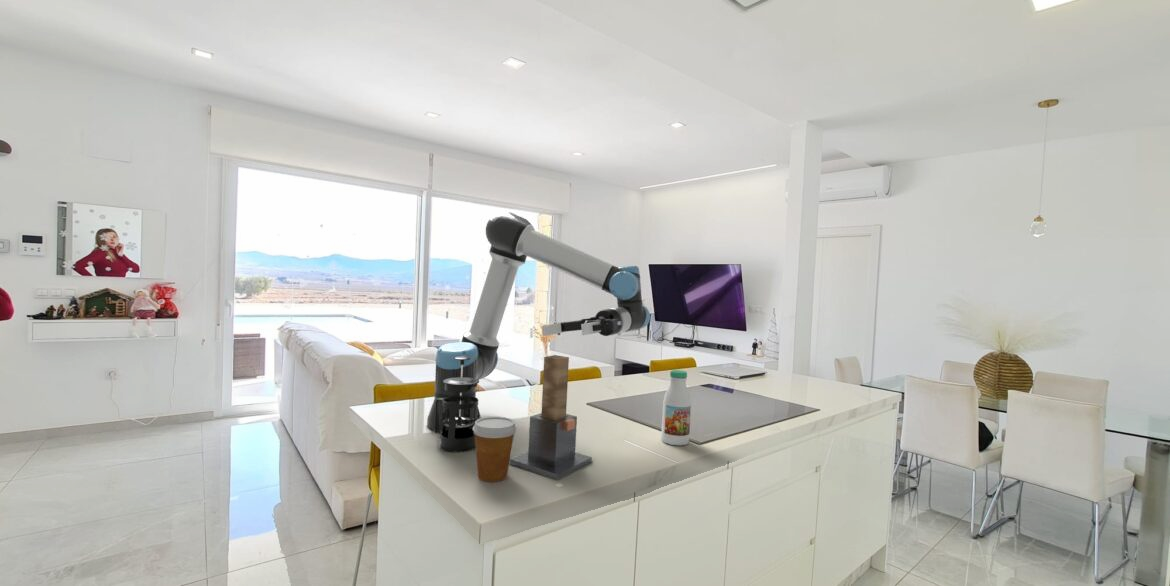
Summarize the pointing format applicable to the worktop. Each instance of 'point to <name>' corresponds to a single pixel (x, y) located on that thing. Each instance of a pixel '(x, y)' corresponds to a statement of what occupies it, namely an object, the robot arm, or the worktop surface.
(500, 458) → the disposable coffee cup
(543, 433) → the stand
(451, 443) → the french press
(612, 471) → the worktop surface
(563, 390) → the post
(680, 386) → the milk bottle
